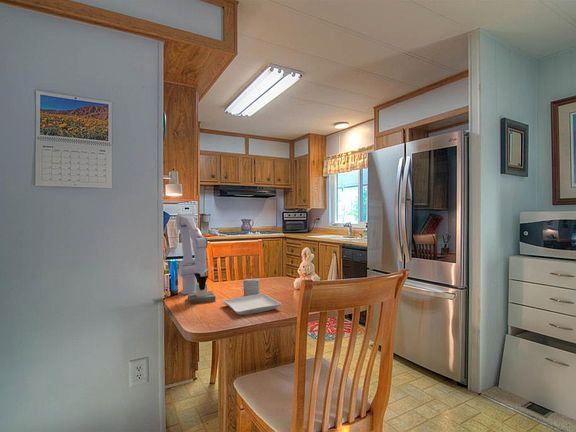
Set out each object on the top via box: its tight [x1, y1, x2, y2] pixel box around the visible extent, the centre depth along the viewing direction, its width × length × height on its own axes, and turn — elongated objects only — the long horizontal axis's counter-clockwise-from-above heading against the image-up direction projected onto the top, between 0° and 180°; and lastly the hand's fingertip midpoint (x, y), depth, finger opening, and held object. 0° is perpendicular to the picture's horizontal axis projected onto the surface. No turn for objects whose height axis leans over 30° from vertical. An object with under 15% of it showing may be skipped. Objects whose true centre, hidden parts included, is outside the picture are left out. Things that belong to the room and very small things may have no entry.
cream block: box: [196, 282, 208, 297], centre depth 162 cm, size 5×5×6 cm
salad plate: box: [222, 293, 282, 316], centre depth 147 cm, size 21×21×3 cm
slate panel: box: [187, 290, 217, 305], centre depth 162 cm, size 12×12×3 cm
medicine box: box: [242, 278, 261, 297], centre depth 167 cm, size 8×4×9 cm, turn 84°
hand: (201, 288), depth 162 cm, fingers open, 7 cm apart
